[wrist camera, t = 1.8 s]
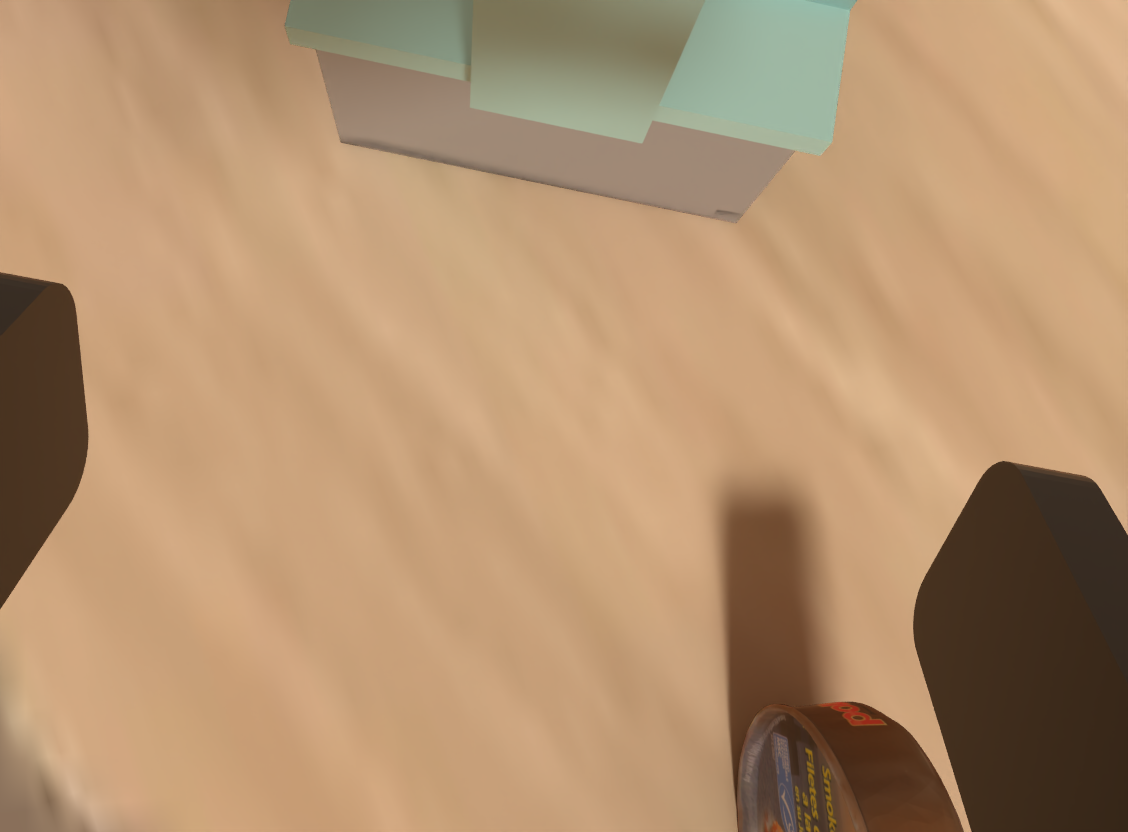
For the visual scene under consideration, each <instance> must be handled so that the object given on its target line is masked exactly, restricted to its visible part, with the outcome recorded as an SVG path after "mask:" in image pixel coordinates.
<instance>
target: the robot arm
mask: <svg viewBox="0 0 1128 832" xmlns="http://www.w3.org/2000/svg"><path fill="white" fill-rule="evenodd" d="M87 450H88V423H87V413H86V403H85V394H84V384H83V374H82V364H81V354H80V345H79V335H78V325H77V315H76V308H75V303H74V300H73V297H72V295H71V293H70V291H69V290H68V288H67V287H66V286H64V285H63V284H60V283H55V282H49V281H44V280H39V279H33V278H28V277H22V276H17V275H12V274H6V273H1V272H0V609H1V607H2V606H3V604H4V603H5V601H6V600H7V598H8V597H9V595H10V594H11V592H12V591H13V589H14V588H15V586H16V585H17V583H18V582H19V580H20V579H21V577H22V576H23V574H24V573H25V571H26V570H27V568H28V567H29V565H30V564H31V562H32V560H33V559H34V557H35V556H36V554H37V553H38V551H39V550H40V548H41V547H42V545H43V544H44V542H45V541H46V539H47V538H48V536H49V535H50V533H51V532H52V530H53V529H54V527H55V526H56V524H57V523H58V521H59V520H60V518H61V517H62V515H63V514H64V512H65V511H66V509H67V508H68V506H69V504H70V503H71V501H72V499H73V497H74V495H75V493H76V491H77V489H78V486H79V484H80V481H81V478H82V475H83V471H84V467H85V463H86V457H87ZM913 631H914V642H915V647H916V651H917V654H918V658H919V661H920V664H921V668H922V671H923V674H924V677H925V681H926V684H927V687H928V690H929V694H930V697H931V700H932V704H933V707H934V710H935V713H936V717H937V720H938V723H939V726H940V730H941V733H942V736H943V739H944V743H945V746H946V749H947V753H948V756H949V759H950V762H951V766H952V769H953V772H954V775H955V779H956V782H957V785H958V789H959V792H960V795H961V798H962V802H963V805H964V808H965V811H966V815H967V818H968V821H969V825H970V828H971V831H972V832H1128V535H1127V533H1126V532H1125V530H1124V528H1123V526H1122V525H1121V523H1120V521H1119V520H1118V518H1117V516H1116V515H1115V513H1114V511H1113V510H1112V508H1111V506H1110V505H1109V503H1108V501H1107V499H1106V498H1105V496H1104V494H1103V493H1102V491H1101V489H1100V488H1099V487H1098V485H1097V484H1096V483H1095V482H1094V481H1093V480H1092V479H1090V478H1088V477H1086V476H1082V475H1076V474H1071V473H1066V472H1060V471H1055V470H1050V469H1044V468H1039V467H1033V466H1028V465H1023V464H1017V463H1012V462H1005V461H1002V462H998V463H996V464H994V465H992V466H991V467H990V468H989V469H988V470H987V471H986V472H985V473H984V474H983V476H982V477H981V479H980V480H979V482H978V484H977V485H976V487H975V489H974V491H973V493H972V494H971V496H970V498H969V500H968V501H967V503H966V505H965V507H964V508H963V510H962V512H961V514H960V516H959V517H958V519H957V521H956V523H955V524H954V526H953V528H952V530H951V531H950V533H949V535H948V537H947V539H946V540H945V542H944V544H943V546H942V547H941V549H940V551H939V553H938V554H937V556H936V558H935V560H934V562H933V563H932V565H931V567H930V569H929V570H928V572H927V574H926V576H925V578H924V580H923V582H922V584H921V586H920V589H919V592H918V596H917V599H916V604H915V610H914V621H913Z"/></svg>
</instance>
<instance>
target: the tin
mask: <svg viewBox="0 0 1128 832" xmlns="http://www.w3.org/2000/svg"><path fill="white" fill-rule="evenodd" d="M737 809H738V832H964V831H963V828H962V825H961V822H960V820H959V817H958V815H957V812H956V810H955V808H954V806H953V803H952V801H951V799H950V797H949V794H948V792H947V790H946V788H945V786H944V784H943V782H942V780H941V778H940V777H939V775H938V773H937V772H936V770H935V768H934V766H933V765H932V763H931V761H930V760H929V758H928V757H927V755H926V754H925V752H924V751H923V750H922V748H921V747H920V745H919V744H918V743H917V741H916V740H915V739H914V738H913V736H912V735H911V734H910V733H909V732H908V731H907V730H906V729H905V728H904V727H903V726H901V725H900V724H899V723H897V722H895V721H894V720H892V719H891V718H889V717H887V716H886V715H884V714H883V713H881V712H879V711H878V710H876V709H874V708H872V707H870V706H867V705H865V704H862V703H856V702H833V703H825V704H816V705H808V706H798V707H790V706H788V705H783V704H771V705H769V706H766V707H764V708H763V709H761V710H760V711H759V712H758V713H757V714H756V716H755V717H754V719H753V721H752V723H751V724H750V726H749V728H748V731H747V734H746V736H745V740H744V743H743V747H742V751H741V755H740V761H739V770H738V783H737Z"/></svg>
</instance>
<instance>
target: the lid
mask: <svg viewBox="0 0 1128 832" xmlns="http://www.w3.org/2000/svg"><path fill="white" fill-rule="evenodd" d="M856 1H857V0H291V1H290V5H289V9H288V14H287V18H286V22H285V29H286V32H287V35H288V38H289V42H290V44H293V45H297V46H302V47H307V48H312V49H316V50H321V51H326V52H331V53H335V54H340V55H345V56H349V57H354V58H359V59H364V60H368V61H373V62H378V63H383V64H387V65H392V66H397V67H402V68H406V69H411V70H416V71H421V72H425V73H430V74H435V75H440V76H444V77H449V78H454V79H459V80H463V81H468V82H471V89H470V108H474V109H479V110H483V111H488V112H493V113H498V114H503V115H507V116H512V117H517V118H522V119H527V120H531V121H536V122H541V123H546V124H550V125H555V126H560V127H565V128H570V129H574V130H579V131H584V132H589V133H594V134H598V135H603V136H608V137H613V138H617V139H622V140H627V141H632V142H637V143H641V144H642V143H643V141H644V139H645V136H646V134H647V132H648V129H649V127H650V125H651V123H652V120H653V121H658V122H662V123H667V124H672V125H677V126H681V127H686V128H691V129H696V130H700V131H705V132H710V133H715V134H719V135H724V136H729V137H733V138H738V139H743V140H748V141H752V142H757V143H762V144H767V145H771V146H776V147H781V148H786V149H790V150H795V151H800V152H805V153H809V154H814V155H819V156H820V155H821V154H822V153H823V152H824V151H825V150H826V149H827V147H828V146H829V145H830V144H831V143H832V139H833V132H834V125H835V118H836V110H837V103H838V96H839V88H840V81H841V74H842V66H843V59H844V52H845V44H846V37H847V30H848V22H849V15H850V10H851V8H852V7H853V6H854V4H855V3H856Z"/></svg>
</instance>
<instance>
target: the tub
mask: <svg viewBox="0 0 1128 832" xmlns="http://www.w3.org/2000/svg"><path fill="white" fill-rule="evenodd" d="M316 52H317V56H318V60H319V63H320V67H321V71H322V74H323V78H324V82H325V85H326V89H327V93H328V97H329V100H330V104H331V108H332V111H333V115H334V119H335V123H336V126H337V130H338V134H339V137H340V141H341V143H346V144H351V145H356V146H361V147H366V148H371V149H376V150H381V151H385V152H390V153H395V154H400V155H405V156H410V157H415V158H420V159H425V160H429V161H434V162H439V163H444V164H449V165H454V166H459V167H464V168H469V169H474V170H478V171H483V172H488V173H493V174H498V175H503V176H508V177H513V178H518V179H522V180H527V181H532V182H537V183H542V184H547V185H552V186H557V187H562V188H566V189H571V190H576V191H581V192H586V193H591V194H596V195H601V196H606V197H611V198H615V199H620V200H625V201H630V202H635V203H640V204H645V205H650V206H655V207H659V208H664V209H669V210H674V211H679V212H684V213H689V214H694V215H699V216H703V217H708V218H713V219H718V220H723V221H728V222H733V223H737V222H738V220H739V219H740V218H741V217H742V216H743V214H744V213H745V212H746V211H747V209H748V208H749V207H750V206H751V204H752V203H753V202H754V201H755V200H756V198H757V197H758V196H759V195H760V193H761V192H762V191H763V190H764V189H765V187H766V186H767V185H768V184H769V182H770V181H771V180H772V179H773V177H774V176H775V175H776V174H777V173H778V171H779V170H780V169H781V168H782V166H783V165H784V164H785V163H786V161H787V160H788V159H789V158H790V157H791V155H792V154H793V153H794V152H795V150H790V149H786V148H781V147H776V146H771V145H767V144H762V143H757V142H752V141H748V140H743V139H738V138H733V137H729V136H724V135H719V134H715V133H710V132H705V131H700V130H696V129H691V128H686V127H681V126H677V125H672V124H667V123H662V122H658V121H653V120H652V123H651V125H650V127H649V129H648V132H647V134H646V136H645V139H644V141H643V143H642V144H641V143H637V142H632V141H627V140H622V139H617V138H613V137H608V136H603V135H598V134H594V133H589V132H584V131H579V130H574V129H570V128H565V127H560V126H555V125H550V124H546V123H541V122H536V121H531V120H527V119H522V118H517V117H512V116H507V115H503V114H498V113H493V112H488V111H483V110H479V109H474V108H470V89H471V82H468V81H463V80H459V79H454V78H449V77H444V76H440V75H435V74H430V73H425V72H421V71H416V70H411V69H406V68H402V67H397V66H392V65H387V64H383V63H378V62H373V61H368V60H364V59H359V58H354V57H349V56H345V55H340V54H335V53H331V52H326V51H321V50H316Z"/></svg>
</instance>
